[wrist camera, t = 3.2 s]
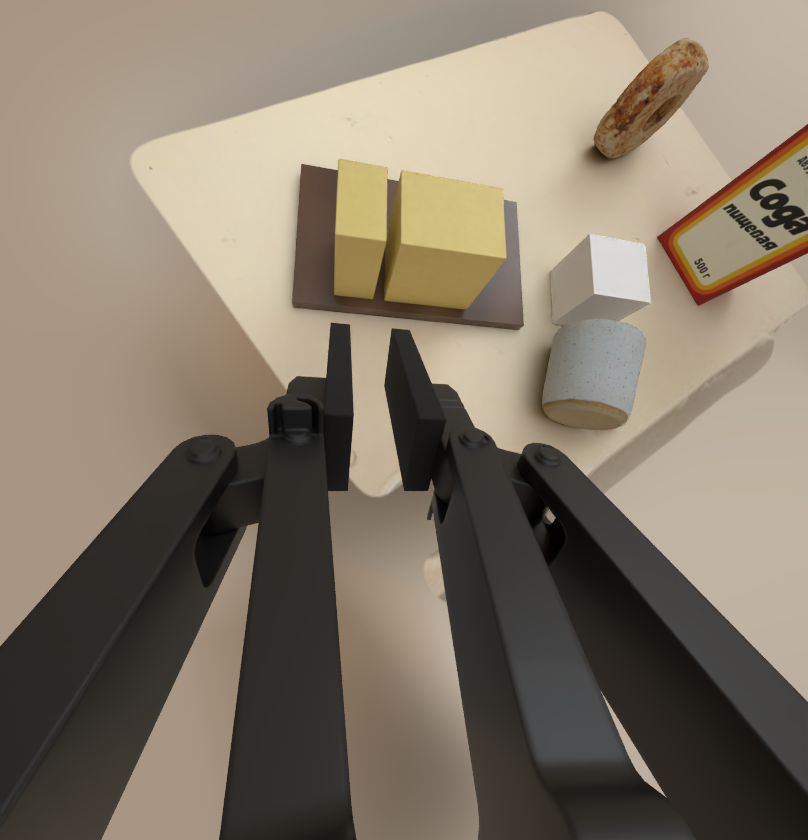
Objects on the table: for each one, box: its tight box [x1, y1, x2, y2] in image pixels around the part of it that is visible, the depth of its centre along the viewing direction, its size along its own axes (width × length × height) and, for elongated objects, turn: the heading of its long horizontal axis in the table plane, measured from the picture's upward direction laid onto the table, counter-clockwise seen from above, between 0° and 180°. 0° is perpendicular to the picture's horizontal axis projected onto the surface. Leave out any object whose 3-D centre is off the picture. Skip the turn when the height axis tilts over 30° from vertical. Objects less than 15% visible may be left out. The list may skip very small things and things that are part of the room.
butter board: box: [292, 164, 524, 329], centre depth 34 cm, size 22×14×1 cm, turn 90°
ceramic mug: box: [542, 319, 646, 430], centre depth 32 cm, size 11×8×8 cm
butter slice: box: [334, 159, 388, 299], centre depth 28 cm, size 4×6×8 cm, turn 0°
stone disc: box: [594, 38, 709, 158], centre depth 38 cm, size 10×4×10 cm, turn 121°
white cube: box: [550, 234, 651, 325], centre depth 35 cm, size 6×6×6 cm
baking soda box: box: [658, 124, 808, 306], centre depth 35 cm, size 10×6×16 cm
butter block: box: [384, 170, 506, 310], centre depth 29 cm, size 8×6×8 cm
